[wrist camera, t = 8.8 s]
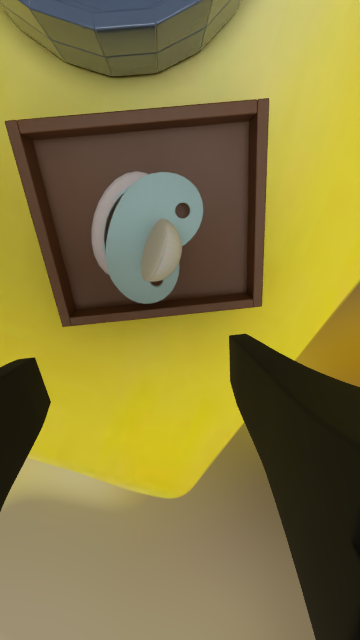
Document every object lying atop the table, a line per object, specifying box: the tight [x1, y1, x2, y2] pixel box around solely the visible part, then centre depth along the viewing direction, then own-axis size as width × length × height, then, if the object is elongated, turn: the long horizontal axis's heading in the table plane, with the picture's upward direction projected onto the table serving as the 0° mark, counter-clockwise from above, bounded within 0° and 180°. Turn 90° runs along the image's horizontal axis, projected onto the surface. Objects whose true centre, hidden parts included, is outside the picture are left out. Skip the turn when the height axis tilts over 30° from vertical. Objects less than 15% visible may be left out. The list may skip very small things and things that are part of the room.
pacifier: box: [91, 171, 203, 304], centre depth 14 cm, size 7×6×6 cm
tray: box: [5, 98, 269, 327], centre depth 17 cm, size 13×11×2 cm
